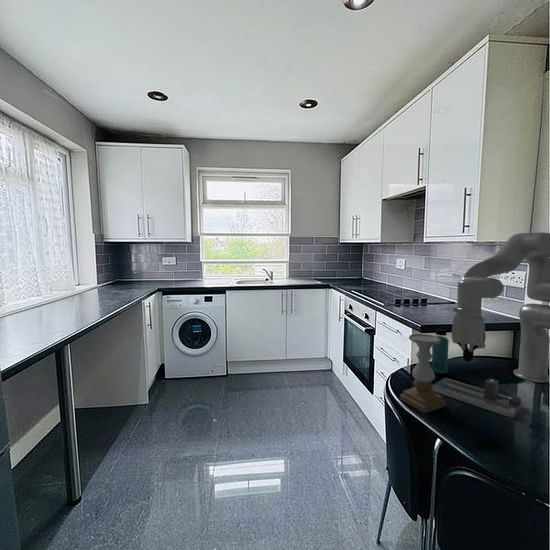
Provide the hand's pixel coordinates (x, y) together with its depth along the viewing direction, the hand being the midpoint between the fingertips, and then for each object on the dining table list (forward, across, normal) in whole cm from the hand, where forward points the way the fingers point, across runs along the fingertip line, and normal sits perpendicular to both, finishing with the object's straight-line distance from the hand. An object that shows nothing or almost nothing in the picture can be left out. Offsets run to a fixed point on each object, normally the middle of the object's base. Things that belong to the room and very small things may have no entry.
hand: (468, 360), depth 117 cm
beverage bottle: (+14, -15, +11) cm, 23 cm away
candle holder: (+12, -8, -20) cm, 25 cm away
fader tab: (+11, +8, -2) cm, 14 cm away
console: (+13, +3, -2) cm, 14 cm away
